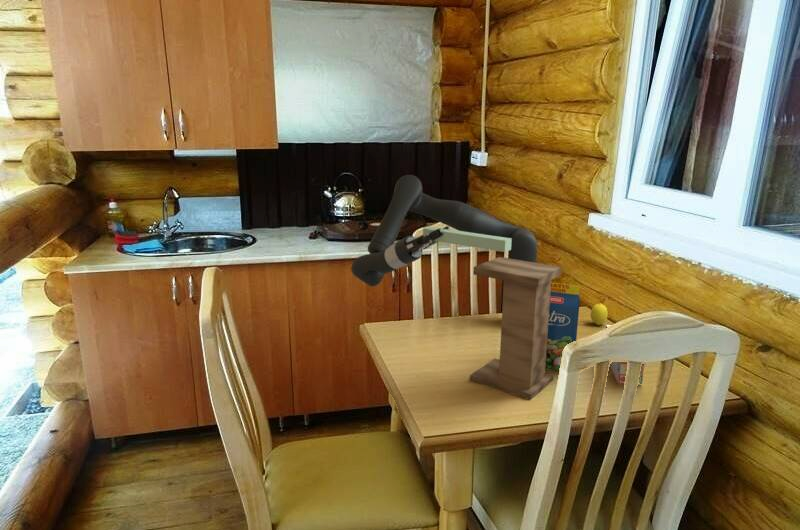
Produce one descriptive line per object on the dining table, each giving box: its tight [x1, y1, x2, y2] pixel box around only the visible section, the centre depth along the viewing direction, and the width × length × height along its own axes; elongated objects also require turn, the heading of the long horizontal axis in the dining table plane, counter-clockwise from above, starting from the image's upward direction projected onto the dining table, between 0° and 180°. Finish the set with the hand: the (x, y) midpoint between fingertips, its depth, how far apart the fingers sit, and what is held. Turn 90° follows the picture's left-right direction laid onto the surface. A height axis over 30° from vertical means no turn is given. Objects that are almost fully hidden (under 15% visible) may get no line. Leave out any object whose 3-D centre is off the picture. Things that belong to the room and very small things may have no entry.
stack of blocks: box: [605, 324, 645, 385], centre depth 160 cm, size 21×6×12 cm, turn 171°
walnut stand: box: [469, 256, 563, 401], centre depth 150 cm, size 14×18×32 cm
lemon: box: [590, 302, 608, 326], centre depth 194 cm, size 6×6×8 cm
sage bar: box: [422, 226, 512, 253], centre depth 154 cm, size 4×26×3 cm, turn 52°
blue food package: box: [545, 281, 581, 372], centre depth 159 cm, size 6×12×25 cm, turn 67°
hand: (445, 230), depth 157 cm, fingers closed on sage bar, 3 cm apart
